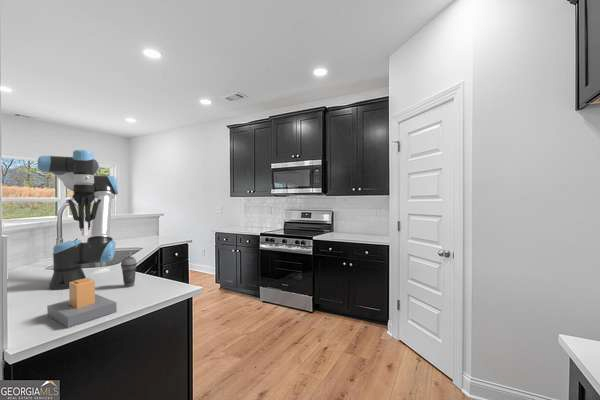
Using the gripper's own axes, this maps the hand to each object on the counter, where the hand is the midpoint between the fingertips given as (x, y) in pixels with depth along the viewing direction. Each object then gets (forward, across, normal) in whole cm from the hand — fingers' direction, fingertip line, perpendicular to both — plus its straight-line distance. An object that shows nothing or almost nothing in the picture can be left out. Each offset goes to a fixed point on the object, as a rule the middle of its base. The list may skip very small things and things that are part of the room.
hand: (84, 235), depth 127 cm
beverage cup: (+30, +20, +2) cm, 36 cm away
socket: (+29, -8, -18) cm, 35 cm away
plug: (+28, -8, -18) cm, 34 cm away
